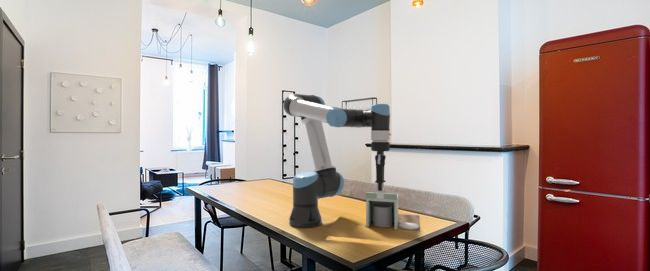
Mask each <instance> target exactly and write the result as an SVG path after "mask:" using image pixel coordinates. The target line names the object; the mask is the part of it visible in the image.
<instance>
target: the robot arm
mask: <svg viewBox="0 0 650 271" xmlns="http://www.w3.org/2000/svg"><path fill="white" fill-rule="evenodd" d="M283 110H284V112H285V113H286V114H287V115H288V116H290V117H295V118H301V119H300V120H301V123H302V124H304V125H305V128H306V134H307V138H308V143H309V147H310V152H311V156H312V160H313V165H314V170H313V171H305V172H299V173H298V174H295V175H294V176H293V178H292V180H293V181H292V209H291V212H290V215H289V218H288V221H289V225H290V226H292V227H294V228H295V227H296V228H300V229H301V228H304V229H307V228H314V227H319V226H320V225H322V223H323V222H322V220H323V219H322V215H321V212H320V209H319V200H320V199H324V198H330V197H331V198H332V197H335V196H338V195H339V194H341V193H342V191H343V189H344V185H345V183H344V177H343V174H341V173H340V172H338V171H337V169H336V167H335V166H334V165H333V164H332V160H331V157H330V151H329V148H328V143H327V139H326V135H325V131H324V127H323V126H324V125H323V123H325V124H328V125H329V126H330V127H333V128H371V131H370V134H371V135H370V140H371V141H372V142H371V146H370V149H371V151H372V152H376V155H375V156H374V158H375V159H374V161H375V177H376V179H375V181H374V182H375V184H376V192H377V198H379V199H384V193H385V192H384V191H385V186H384V184H385V183H386V180H385V165H386V159H387V158H386V155H385V152H390V148H391V146H390V144H391V143H390V142H389V141H390V137H391V136H392V133H391V131H390V123H391V121H390V120H391V119H390V118H391V110H390V105H389V104H387V103H374V104H371V107H370V109H350V108H341V107H336V106H330V105H328V104H326V103H325V100H323V98H322V97H320V96H318V95H314V94H310V95H308V94H301V93H292V94H290V95H287V96H286V98H284V101H283Z"/></svg>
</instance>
